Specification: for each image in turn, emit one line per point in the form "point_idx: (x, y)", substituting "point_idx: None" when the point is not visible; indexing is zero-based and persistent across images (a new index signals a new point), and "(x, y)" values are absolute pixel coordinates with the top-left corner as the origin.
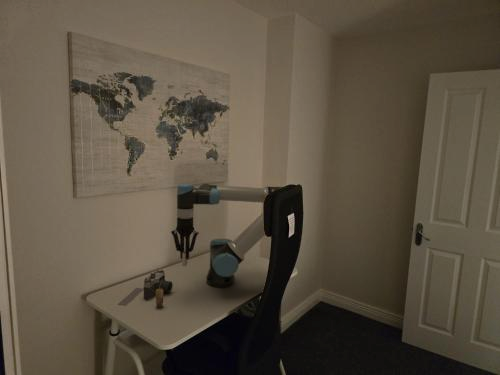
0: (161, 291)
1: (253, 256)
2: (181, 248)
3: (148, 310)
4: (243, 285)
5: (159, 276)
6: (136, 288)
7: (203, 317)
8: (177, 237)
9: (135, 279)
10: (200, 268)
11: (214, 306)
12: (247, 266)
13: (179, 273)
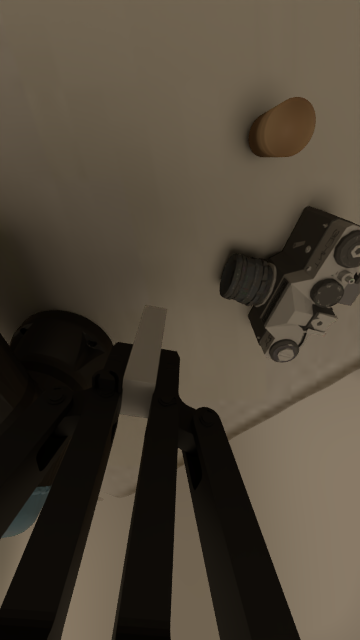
0: (278, 106)
1: None
2: (160, 429)
3: (314, 95)
4: None
5: (290, 297)
6: (350, 301)
7: (22, 7)
8: (230, 637)
9: (346, 359)
10: None
11: (16, 152)
12: None
13: (208, 392)
